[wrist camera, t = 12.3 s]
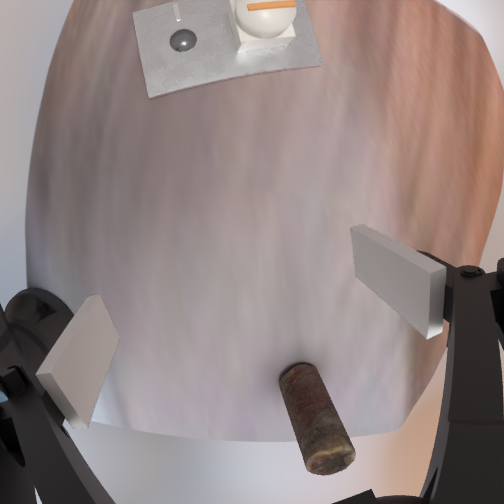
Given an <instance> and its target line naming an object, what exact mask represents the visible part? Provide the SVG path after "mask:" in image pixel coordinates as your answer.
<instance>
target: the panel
mask: <svg viewBox="0 0 504 504" xmlns="http://www.w3.org/2000/svg"><path fill="white" fill-rule="evenodd" d="M228 1H229V0H178V1H174V2H170V3H166V4H162V5H158V6H154V7H151V8H147V9H144V10H140V11H137V12H134V13H133V19H134V25H135V31H136V36H137V42H138V47H139V53H140V58H141V63H142V68H143V73H144V78H145V83H146V87H147V92H148V97H149V99H150V100H151V99H154V98H158V97H161V96H165V95H168V94H172V93H175V92H179V91H183V90H187V89H191V88H195V87H199V86H203V85H208V84H212V83H216V82H221V81H226V80H231V79H236V78H241V77H247V76H253V75H259V74H265V73H272V72H279V71H286V70H294V69H303V68H313V67H321V66H322V65H323V62H322V58H321V55H320V51H319V47H318V44H317V41H316V37H315V34H314V30H313V27H312V24H311V21H310V18H309V14H308V11H307V8H306V5H305V2H304V0H295V4H296V16H295V18H294V20H293V22H292V25H293V28H294V32H295V35H296V36H295V38H294V39H293V40H292V41H291V42H290V43H289V45H286V46H277V47H269V48H261V49H254V50H248V51H242V52H237V48H236V44H235V40H234V36H233V32H232V29H231V25H230V21H229V17H228V13H227V6H228Z"/></svg>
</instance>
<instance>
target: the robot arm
mask: <svg viewBox="0 0 504 504" xmlns="http://www.w3.org/2000/svg"><path fill="white" fill-rule="evenodd" d="M350 231H351V239H352V247H353V255H354V264H355V274H356V277H357V278H358V279H359V280H360V281H362V282H363V283H364V284H365V285H366V286H367V287H369V288H370V289H371V290H372V291H373V292H374V293H376V294H377V295H378V296H379V297H380V298H381V299H383V300H384V301H385V302H386V303H387V304H388V305H389V306H390V307H392V308H393V309H394V310H395V311H396V312H397V313H398V314H400V315H401V316H402V317H403V318H404V319H405V320H406V321H407V322H409V323H410V324H411V325H412V326H413V327H414V328H415V329H416V330H417V331H418V332H420V333H421V334H422V335H423V336H424V337H425V338H426V339H429V338H431V337H433V336H435V335H437V334H439V333H441V332H442V327H443V318H444V319H445V320H446V321H447V322H449V323H450V324H449V332H448V340H447V347H448V351H447V363H446V374H445V383H444V391H443V399H442V405H441V412H440V417H439V423H438V429H437V434H436V439H435V444H434V448H433V453H432V457H431V461H430V465H429V469H428V473H427V476H426V480H425V483H424V486H423V488H422V491H421V494H420V497H416V496H406V495H399V496H398V495H395V496H394V495H393V496H383V497H378V498H376V497H375V495H374V493H373V491H372V489H370V490H367V491H365V492H362V493H360V494H357V495H355V496H352V497H349V498H347V499H344V500H341V501H338V502H335V503H332V504H504V406H503V384H502V383H503V382H502V369H501V359H500V350H499V342H498V339H499V341H500V343H501V345H502V348H503V350H504V258H501V259H500V260H498V263H497V271H496V272H492V273H487V274H486V273H485V272H484V270H482V269H481V268H480V267H476V266H470V265H467V266H461V267H458V268H456V267H454V266H452V265H450V264H448V263H446V262H444V261H443V260H442V261H441V259H439V258H437V257H435V256H433V255H431V254H429V253H427V252H422V251H418V250H417V251H415V250H414V249H412V248H410V247H408V246H406V245H404V244H402V243H400V242H398V241H396V240H394V239H392V238H390V237H388V236H386V235H384V234H382V233H380V232H378V231H376V230H374V229H372V228H370V227H368V226H366V225H363V224H362V225H359V226H355V227H351V228H350ZM119 340H120V338H119V336H118V333H117V331H116V329H115V327H114V325H113V323H112V320H111V318H110V316H109V314H108V311H107V309H106V307H105V304H104V302H103V300H102V297H101V295H100V294H97V295H93V296H89V297H87V299H86V300H85V301H84V303H83V304H82V305H81V307H80V308H79V310H78V311H77V312H76V314H75V315H73V314H72V312H71V311H70V310H69V308H68V307H67V306H66V305H65V304H64V303H63V302H62V301H61V300H60V299H58V298H57V297H56V296H54V295H52V294H51V293H49V292H47V291H44V290H41V289H35V288H29V289H25V290H22V291H20V292H19V293H18V294H16V295H15V296H14V297H13V298H12V299H11V300H10V301H9V303H8V304H7V306H6V309H5V312H4V311H3V309H2V306H1V304H0V504H37V501H36V494H35V488H36V490H37V493H38V495H39V497H40V500H41V502H42V504H116V503H115V502H114V501H113V499H112V498H111V497H110V496H109V494H108V493H107V491H106V490H105V489H104V488H103V486H102V485H101V483H100V482H99V480H98V479H97V478H96V476H95V475H94V473H93V472H92V470H91V469H90V467H89V466H88V464H87V463H86V461H85V460H84V458H83V457H82V455H81V453H80V452H79V450H78V449H77V447H76V445H75V444H74V442H73V440H72V439H71V437H70V435H69V434H68V432H67V430H66V429H65V428H64V427H63V425H62V424H63V422H64V419H66V420H67V421H68V422H69V424H70V425H71V427H72V428H88V427H89V424H90V421H91V417H92V414H93V411H94V408H95V405H96V402H97V399H98V397H99V394H100V391H101V388H102V385H103V382H104V380H105V377H106V374H107V371H108V369H109V366H110V363H111V361H112V358H113V355H114V353H115V350H116V347H117V345H118V342H119ZM34 485H35V487H34Z"/></svg>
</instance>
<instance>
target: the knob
mask: <svg viewBox="0 0 504 504" xmlns="http://www.w3.org/2000/svg"><path fill="white" fill-rule="evenodd" d="M227 13H228V17H229V21H230V25H231V29H232V32H233V36H234V40H235V44H236V48H237V52H242V51H248V50H254V49H261V48H269V47H277V46H286V45H289V43H290V42H291V41H292V40H293V39H294V38H295V36H296V35H295V32H294V28H293V25H292V22H293V20H294V18H295V16H296V4H295V0H229V1H228V6H227Z"/></svg>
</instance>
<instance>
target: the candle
mask: <svg viewBox="0 0 504 504" xmlns="http://www.w3.org/2000/svg"><path fill="white" fill-rule="evenodd" d="M280 390H281V393H282V396H283V399H284V402H285V405H286V408H287V411H288V415H289V417H290V420H291V423H292V426H293V429H294V432H295V435H296V438H297V441H298V444H299V447H300V450H301V453H302V456H303V460H304V463H305V466H306V469H307V470H308V471H309V472H311V473H313V474H317V475H331V474H334V473H337V472H339V471H342V470H344V469H346V468H347V467H348V466H349V465H350V464H351V463H352V462H353V461H354V459H355V456H356V453H355V449H354V447H353V445H352V443H351V441H350V438H349V436H348V434H347V432H346V430H345V428H344V426H343V424H342V422H341V420H340V417H339V415H338V413H337V411H336V409H335V407H334V405H333V403H332V401H331V398H330V396H329V394H328V392H327V389H326V387H325V385H324V383H323V381H322V379H321V377H320V375H319V372H318V370H317V369H316V367H314V366H311V365H306V364H302V365H298V366H296V367H294V368H292V369H291V370H290V371H289V372H287V373H286V374H285V375H284V376H283V377H282V378H281V380H280Z"/></svg>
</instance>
